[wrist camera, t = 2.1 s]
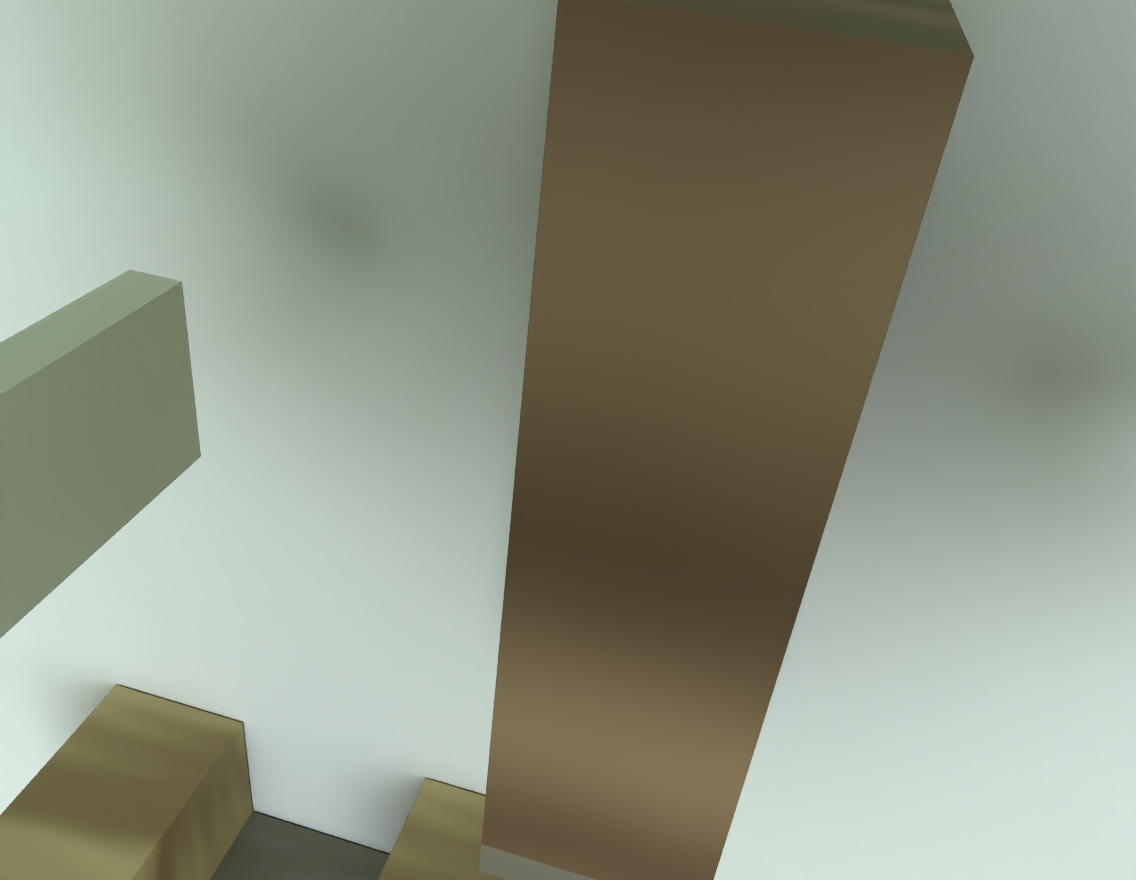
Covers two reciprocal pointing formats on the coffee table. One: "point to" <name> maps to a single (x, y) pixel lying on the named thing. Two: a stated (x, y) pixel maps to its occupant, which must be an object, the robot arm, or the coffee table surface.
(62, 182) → the coffee table surface
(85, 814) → the knobbed wooden twin blocks
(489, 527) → the coffee table surface
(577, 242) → the rail
